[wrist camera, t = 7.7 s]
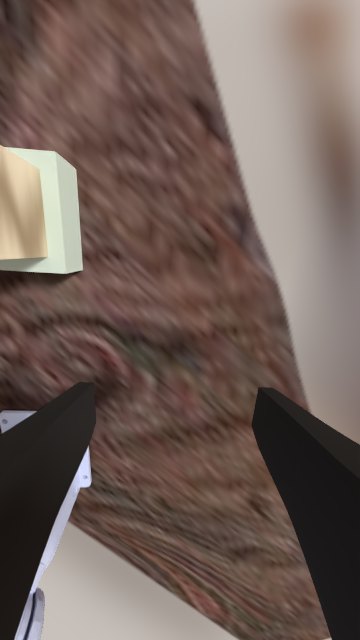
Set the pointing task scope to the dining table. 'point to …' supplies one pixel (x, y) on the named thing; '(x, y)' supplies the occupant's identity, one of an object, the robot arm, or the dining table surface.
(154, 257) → the dining table surface
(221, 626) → the dining table surface
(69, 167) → the base block
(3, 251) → the maple cube
